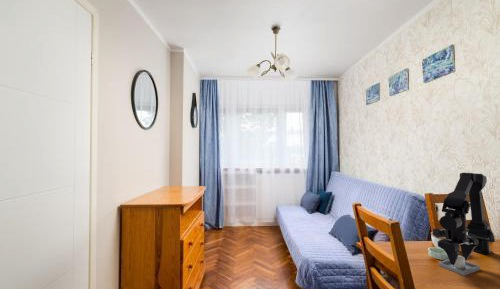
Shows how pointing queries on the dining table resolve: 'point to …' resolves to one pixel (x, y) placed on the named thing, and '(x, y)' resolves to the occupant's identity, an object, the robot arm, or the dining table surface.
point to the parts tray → (468, 269)
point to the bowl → (437, 253)
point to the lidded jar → (436, 239)
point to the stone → (460, 263)
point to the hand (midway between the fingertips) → (458, 262)
